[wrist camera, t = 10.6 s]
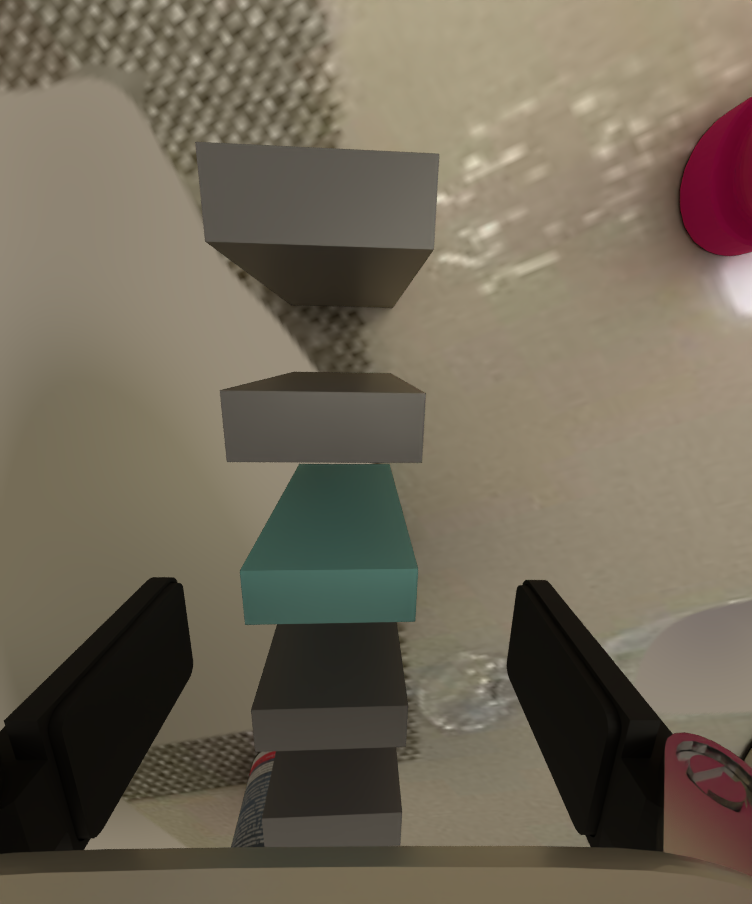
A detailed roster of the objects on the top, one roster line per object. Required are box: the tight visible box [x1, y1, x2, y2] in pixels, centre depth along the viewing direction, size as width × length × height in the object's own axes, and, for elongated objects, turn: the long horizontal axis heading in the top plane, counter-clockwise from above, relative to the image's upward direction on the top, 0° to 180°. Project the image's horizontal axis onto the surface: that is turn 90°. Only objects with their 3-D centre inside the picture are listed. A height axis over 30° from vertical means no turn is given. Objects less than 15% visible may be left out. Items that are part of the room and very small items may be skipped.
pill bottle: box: [231, 751, 276, 848], centre depth 21 cm, size 5×5×9 cm
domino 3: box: [240, 464, 418, 625], centre depth 15 cm, size 2×5×10 cm, turn 89°
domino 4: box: [251, 622, 408, 752], centre depth 16 cm, size 2×5×10 cm, turn 89°
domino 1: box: [195, 142, 439, 308], centre depth 12 cm, size 2×5×10 cm, turn 89°
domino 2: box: [220, 372, 426, 463], centre depth 14 cm, size 2×5×10 cm, turn 89°
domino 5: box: [262, 747, 402, 847], centre depth 18 cm, size 2×5×10 cm, turn 89°
